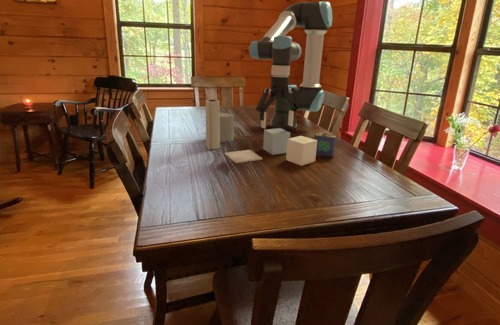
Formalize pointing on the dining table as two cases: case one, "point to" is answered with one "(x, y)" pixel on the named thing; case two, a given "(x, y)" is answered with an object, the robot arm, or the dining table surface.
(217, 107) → the paper towel roll
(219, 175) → the dining table surface
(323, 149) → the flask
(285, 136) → the pale sage cube
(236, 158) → the mat
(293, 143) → the beige rectangular block
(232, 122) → the speckled beige cylinder
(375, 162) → the dining table surface
